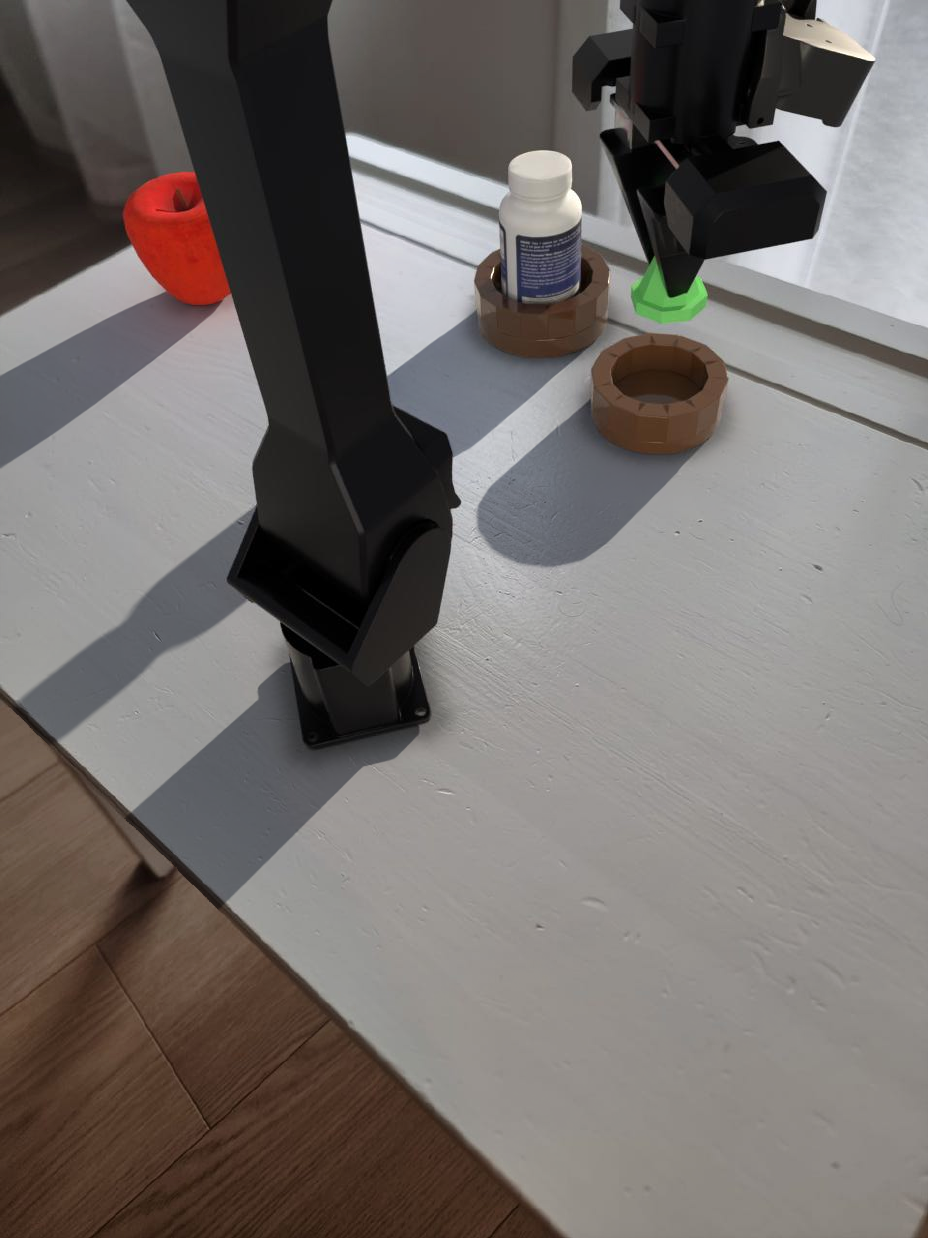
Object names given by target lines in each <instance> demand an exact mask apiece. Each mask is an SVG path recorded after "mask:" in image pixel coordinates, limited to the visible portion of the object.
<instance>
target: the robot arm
mask: <svg viewBox="0 0 928 1238" xmlns="http://www.w3.org/2000/svg"><path fill="white" fill-rule="evenodd" d="M125 1H126V3H127V4H128V6H129V7H130V8H131V10H132V12H133V13H134V14H135V15H136V16H137V18H138V19H139V20H140V22H141V24H142V25H143V26H144V28H145V29H146V31H147V32H148V34H149V36H150V37H151V39H152V41H153V44H154V47H155V48H156V50H157V53H158V55H159V58H160V61H161V65H162V67H163V71H164V74H165V77H166V81H167V84H168V87H169V91H170V95H171V98H172V102H173V104H174V108H175V112H176V115H177V117H178V121H179V125H180V127H181V132H182V135H183V137H184V141H185V144H186V148H187V151H188V154H189V158H190V162H191V164H192V167H193V172H195V175H196V178H197V182H198V185H199V188H200V192H201V195H202V198H203V202H204V205H205V208H206V212H207V215H208V218H209V222H210V225H211V228H212V232H213V235H214V238H215V242H216V245H217V248H218V252H219V255H220V258H221V262H222V265H223V268H224V272H225V275H226V279H227V282H228V285H229V289H230V292H231V294H230V296H231V298H232V302H233V306H234V308H235V309H234V310H235V311H236V315H237V318H238V322H239V325H240V329H241V332H242V335H243V338H244V342H245V345H246V348H247V353H248V355H249V358H250V362H251V366H252V368H253V369H252V370H253V372H254V376H255V379H256V381H257V385H258V388H259V389H258V390H259V392H260V396H261V399H262V402H263V405H264V408H265V412H266V416H267V424H268V425H267V428H266V430H265V432H264V434H263V437H262V439H261V440H260V441H261V442H260V443H259V446H258V448H257V450H256V453H255V454H254V456H253V460H252V462H251V463H252V465H251V471H252V472H251V473H252V480H253V486H254V487H253V488H254V494H255V502H256V506H255V509H254V511H253V514H252V516H251V518H250V521H249V523H248V525H247V528H246V531H245V533H244V535H243V537H242V540H241V543H240V545H239V548H238V549H237V552H236V555H235V556H234V559H233V562H232V564H231V567H230V569H229V572H228V574H227V575H226V583H227V585H229V586H230V587H231V588H232V589H233V590H235V591H236V592H237V593H238V594H240V595H241V596H242V597H243V598H244V599H246V600H247V601H249V602H250V603H252V604H255V605H256V606H258V607H260V609H262V610H263V611H265V612H266V613H267V614H269V615H270V616H272V617H273V618H275V620H277V621H279V626H280V630H281V632H282V633H281V634H282V637H283V639H284V642H285V645H286V648H287V651H288V656H289V663H290V669H291V675H292V681H293V687H294V695H295V701H296V706H297V713H298V719H299V725H300V731H301V738H302V742H303V744H304V747H305V748H306V749H307V750H310V751H316V750H320V749H324V748H329V747H332V746H337V745H341V744H346V743H349V742H350V743H351V742H354V741H358V740H362V739H367V738H371V737H374V736H380V735H384V734H388V733H392V732H396V731H399V730H404V729H409V728H412V727H416V726H422V725H425V724H427V723H429V722H430V721H431V719H432V709H431V705H430V701H429V697H428V694H427V689H426V685H425V682H424V678H423V674H422V670H421V666H420V663H419V659H418V655H417V652H416V647H415V645H417V644H418V643H419V642H420V641H421V640H422V639H423V638H424V637H425V636H426V635H428V634H429V633H430V632H431V631H432V630H433V629H434V628H435V627H436V626H437V624H438V621H439V618H440V617H439V616H440V612H441V606H442V601H443V600H442V599H443V594H444V591H445V585H446V579H447V574H448V568H449V564H450V558H451V553H452V540H453V534H454V532H453V529H454V521H453V520H454V519H453V514H452V513H453V512H452V510H454V509H458V508H459V507H460V506H461V505H462V499H461V498H460V497H459V496H458V494H457V493H456V489H455V486H454V485H455V484H454V481H453V462H454V452H453V449H452V445H451V443H450V440H449V437H448V435H447V433H446V432H445V431H443V430H442V429H440V428H438V427H436V426H434V425H433V424H430V423H428V422H426V421H424V420H423V419H421V418H419V417H417V416H415V415H413V414H412V413H409V412H407V411H406V410H404V409H402V408H400V407H398V406H396V405H394V404H393V402H392V398H391V393H390V387H389V380H388V374H387V369H386V368H387V367H386V363H385V356H384V350H383V346H382V345H383V344H382V338H381V334H380V328H379V321H378V317H377V309H376V305H375V299H374V293H373V287H372V281H371V275H370V268H369V262H368V258H367V252H366V251H367V250H366V246H365V240H364V233H363V229H362V222H361V217H360V210H359V205H358V200H357V194H356V188H355V181H354V175H353V171H352V170H353V169H352V165H351V158H350V151H349V147H348V140H347V135H346V128H345V123H344V118H343V112H342V106H341V100H340V95H339V88H338V83H337V76H336V70H335V64H334V60H333V59H334V58H333V54H332V47H331V42H330V35H329V33H330V32H329V18H328V17H329V13H330V10H331V6H332V4H333V1H334V0H125ZM817 4H818V0H619V10H620V11H621V12H622V14H623V15H624V16H625V17H626V18H627V19H628V20H629V21H630V22H631V24H632V28H627V29H622V30H615V31H610V32H604V33H598V34H593V35H588V37H587V38H586V39H585V40H584V42H583V43H582V44H581V46H579V48H578V49H577V50H576V52H575V53H574V54H573V55H572V63H571V64H572V65H571V66H572V67H571V93H572V94H573V96H574V97H575V98H576V100H577V101H578V102H579V104H580V105H581V107H582V108H583V109H584V111H585V112H591V111H597V109H598V107H599V106H600V104H601V102H602V98H603V97H602V96H603V95H602V93H603V88H604V87H611V88H615V92H612V93H610V94H609V104H610V105H611V107H613V109H614V124H613V125H614V126H613V128H608V129H604V130H602V131H601V132H600V133H599V143H600V145H601V147H602V148H603V150H604V152H605V155H606V158H607V160H608V163H609V165H610V168H611V171H612V172H613V176H614V178H615V180H616V183H617V185H618V188H619V191H620V193H621V196H622V198H623V201H624V204H625V206H626V209H627V211H628V213H629V216H630V219H631V221H632V224H633V227H634V229H635V233H636V235H637V237H638V240H639V243H640V245H641V248H642V251H643V254H644V256H645V259H646V262H647V264H648V266H649V265H650V264H651V262H652V260H653V258H654V256H655V258H656V262H657V265H658V269H659V272H660V276H661V279H662V282H663V285H664V288H665V291H666V293H667V296H668V297H669V298H673V297H676V296H679V295H682V294H685V293H686V294H687V293H688V291H689V289H690V287H691V285H692V283H693V281H694V279H695V278H696V277H698V276H697V275H698V274H699V272H700V270H701V268H702V266H703V264H704V262H705V260H706V261H707V260H712V259H716V258H721V257H722V258H723V257H727V256H731V255H732V256H733V255H738V254H741V253H747V252H752V251H757V250H762V249H767V248H774V247H777V246H783V245H784V246H785V245H788V244H794V243H798V242H803V241H808V240H813V239H814V238H815V236H816V235H817V233H818V232H819V229H820V225H821V222H822V221H821V220H822V217H823V213H824V207H825V203H826V198H827V194H828V190H827V189H825V187H824V186H823V185H822V184H821V183H820V182H819V181H818V180H817V179H816V177H815V176H813V174H812V173H811V172H810V171H809V170H808V169H807V168H806V167H805V166H804V165H803V164H802V162H800V161H799V160H798V159H797V158H796V157H795V155H793V154H792V152H791V151H790V150H789V149H787V147H786V146H785V145H784V144H783V143H782V141H780V140H774V141H769V142H763V143H758V142H757V141H756V140H754V139H753V138H751V137H748V136H743V135H742V136H741V135H735V134H736V130H737V127H741V126H746V127H747V128H748V129H749V130H750V129H757V128H762V127H768V126H773V125H774V121H775V116H776V110H779V111H782V112H787V113H790V114H795V115H799V116H802V117H807V118H812V119H814V120H815V119H816V120H820V121H821V123H822V124H823V126H826V127H830V128H840V127H842V125H843V123H844V121H845V119H846V117H847V115H848V114H849V111H850V109H851V108H852V106H853V104H854V102H855V100H856V98H857V96H858V95H859V92H860V91H861V89H862V87H863V85H864V84H865V82H866V79H867V77H868V76H869V74H870V71H871V70H872V68H873V66H874V64H875V62H876V58H875V56H873V55H872V54H871V53H870V52H869V51H867V50H866V49H865V48H863V46H861V45H860V44H859V43H857V42H856V41H855V40H854V39H853V38H851V37H850V36H849V35H848V34H847V33H845V32H844V31H842V30H841V29H840V28H837V27H835V26H834V25H831V24H830V23H828V22H827V21H826V20H825V19H823V18H821V17H817ZM816 17H817V18H816ZM419 713H424V714H423V715H419ZM312 738H316V739H315V740H313V741H311V739H312Z"/></svg>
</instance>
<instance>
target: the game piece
mask: <svg viewBox="0 0 928 1238" xmlns="http://www.w3.org/2000/svg"><path fill="white" fill-rule="evenodd" d="M630 290H631V291H630V299H631V302H632V306H633V308H634V311H635V312H634V313H635V314H636V315H638V316H640V317H643V318H645V319H648V320H651V321H653V322H655V323H657V324H661V325H662V324H664V325H665V324H670V323H671V324H672V323H683V322H690V321H692V320H693V319H694V318H695V317H696V316H698V315H699V314H700V313H701V312H702V311H703V310H704V309H706V307H707V303H708V298H709V297H708V291H707V289H706V287H705V284H704V282H703V279H702V278H701V277H698V276H696V278H695V279H694V281H693V283H692V285H691V287H690V289H689V291H688V293H687V294H686V293H685V294H682V295H679V296H676V297H673V298H669V297H668V296H667V293H666V291H665V288H664V285H663V282H662V279H661V276H660V272H659V269H658V265H657V262H656V258H655V256H654V258H653V260H652V262H651V264H650V265H649V264H648V267H647V269H646V271H645V273H644V275H643V276H641V277H640V278H639V279H638V280H636V281H635V282H634V283H633V284H632V285H631V288H630Z"/></svg>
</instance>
